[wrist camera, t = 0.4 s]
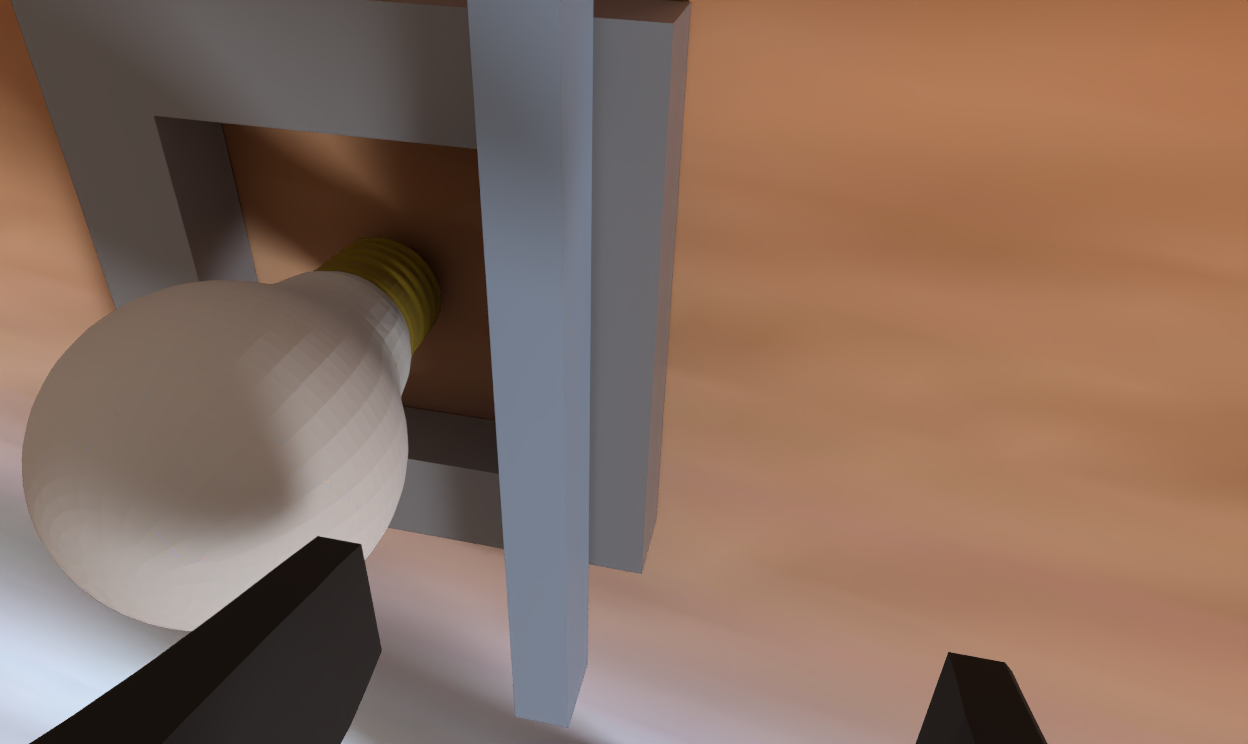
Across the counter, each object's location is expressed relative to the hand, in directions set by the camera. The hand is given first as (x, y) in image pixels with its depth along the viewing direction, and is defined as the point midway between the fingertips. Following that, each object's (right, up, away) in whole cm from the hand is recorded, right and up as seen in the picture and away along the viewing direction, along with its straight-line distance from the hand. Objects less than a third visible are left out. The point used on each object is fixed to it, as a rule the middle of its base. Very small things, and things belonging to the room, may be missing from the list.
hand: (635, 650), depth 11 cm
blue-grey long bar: (-1, +4, +7) cm, 8 cm away
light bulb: (-5, +6, +10) cm, 13 cm away
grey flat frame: (-5, +7, +9) cm, 13 cm away
